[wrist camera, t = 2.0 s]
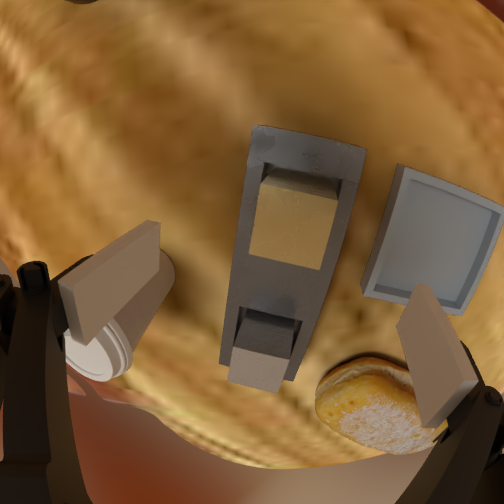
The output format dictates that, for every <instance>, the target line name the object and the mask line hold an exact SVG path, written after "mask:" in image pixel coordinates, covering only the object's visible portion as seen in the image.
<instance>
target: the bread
mask: <svg viewBox="0 0 504 504" xmlns="http://www.w3.org/2000/svg"><path fill="white" fill-rule="evenodd" d="M315 396H316V399H315V411H316V414H317V416H318V418H319V419H320V420H321V421H322V422H323V423H325V424H326V425H328V426H329V427H330V428H331V429H332V430H334V431H335V432H338V433H339V434H340V435H342V436H344V437H346V438H348V439H350V440H352V441H354V442H356V443H358V444H360V445H363V446H367V447H370V448H375V449H377V450H380V451H384V452H388V453H392V454H409V453H415V452H419V451H421V450H424V449H426V448H429V447H431V446H434V445H435V444H436V443H437V441H438V440H437V441H436V442H434V443H433V442H432V441H433V440H434V439H435V438H436V437H437V436H438V435H439V434H440V433H441V432H442V431H443V430H444V429H445V428H446V427H447V426H448V423H447V419H446V420H445V421H444V422H443V423H442V424H441V425H440V426H439V427H438V428H422V423H421V418H420V413H419V409H418V404H417V400H416V396H415V391H414V387H413V383H412V379H411V376H410V372H409V370H407V369H405V368H403V367H401V366H398V365H396V364H394V363H392V362H389V361H386V360H383V359H380V358H376V357H361V358H358V359H355V360H352V361H348V362H345V363H343V364H341V365H339V366H338V367H336V368H334V369H332V370H331V371H329V373H328V375H327V376H325V377H323V379H322V380H321V381H320V383H319V385H318V386H317V388H316V394H315Z"/></svg>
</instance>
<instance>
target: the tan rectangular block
mask: <svg viewBox="0 0 504 504" xmlns="http://www.w3.org/2000/svg"><path fill="white" fill-rule="evenodd" d="M337 204H338V198H337V196H336V193H335V190H334V187H333V184H332V181H331V179H328V178H324V177H320V176H316V175H312V174H307V173H303V172H298V171H294V170H289V169H284V168H279V167H275V168H274V169H273V170H272V171H271V172H270V174H269V175H268V176H267V177H266V178H265V179H264V180H263V181H262V183H261V184H260V190H259V196H258V202H257V208H256V214H255V219H254V225H253V231H252V237H251V243H250V249H249V254H251V255H255V256H260V257H264V258H268V259H273V260H277V261H281V262H286V263H290V264H294V265H299V266H303V267H307V268H312V269H316V270H320V266H321V263H322V259H323V256H324V253H325V249H326V246H327V242H328V238H329V235H330V231H331V227H332V224H333V220H334V216H335V212H336V208H337Z"/></svg>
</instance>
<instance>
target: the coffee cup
mask: <svg viewBox="0 0 504 504" xmlns="http://www.w3.org/2000/svg"><path fill="white" fill-rule="evenodd" d="M174 282H175V269H174V266H173V263H172V262H171V260H170V258H169V257H168V256H167V255H166V254H165V253H164V252H163V251H162V250H160V252H159V271H158V272H157V273H156V274H155V275H154V276H153V277H152V278H151V279H150V280H149V281H148V282H147V283H146V284H145V285H144V286H143V287H142V288H141V289H140V290H139V291H138V292H137V293H136V294H135V295H134V296H133V297H132V298H131V299H130V300H129V301H128V302H127V303H126V304H125V305H124V307H123V308H122V309H121V310H120V311H119V312H118V313H117V314H116V315H115V316H114V317H113V318H112V319H111V320H110V321H109V322H108V323H107V324H106V325H105V327H104V328H103V329H102V330H101V331H100V332H99V333H98V334H97V335H96V336H95V337H94V338H93V339H92V341H91V342H90V343H89V344H88V345H87V346H84V345H82V344H80V343H78V342H76V341H74V340H72V337H71V334H70V330H69V329H68V330H66V331H65V332H64V333H63V334H64V337H65V350H66V362H67V363H68V364H69V365H70V366H71V367H73V368H74V369H75V370H76V371H78V372H79V373H81V374H82V375H84V376H86V377H88V378H90V379H93V380H96V381H108V380H109V379H111V378H113V377H117V376H119V375H121V374H123V373H125V372H126V371H127V370H128V369H129V368H130V367H131V365H132V361H133V354H132V353H133V351H134V350H135V348H136V346H137V344H138V343H139V341H140V339H141V337H142V336H143V334H144V332H145V330H146V329H147V327H148V325H149V324H150V322H151V320H152V319H153V317H154V315H155V314H156V312H157V310H158V309H159V307H160V305H161V304H162V302H163V300H164V299H165V297H166V296H167V294H168V292H169V291H170V289H171V288H172V286H173V284H174Z"/></svg>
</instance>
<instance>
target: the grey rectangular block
mask: <svg viewBox="0 0 504 504" xmlns="http://www.w3.org/2000/svg"><path fill="white" fill-rule="evenodd" d="M294 325H295V319H292V318H287V317H283V316H279V315H274V314H270V313H266V312H262V311H258V310H253V309H249V308H247V310H246V313H245V316H244V318H243V321H242V324H241V326H240V329H239V332H238V334H237V337H236V340H235V343H234V345H233V350H232V356H231V362H230V368H229V374H228V380H227V381H229V382H232V383H236V384H240V385H244V386H248V387H252V388H256V389H261V390H265V391H269V392H274V393H278V390H279V387H280V385H281V382H282V380H283V377H284V374H285V372H286V369H287V366H288V363H289V361H290V354H291V347H292V340H293V332H294Z"/></svg>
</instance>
